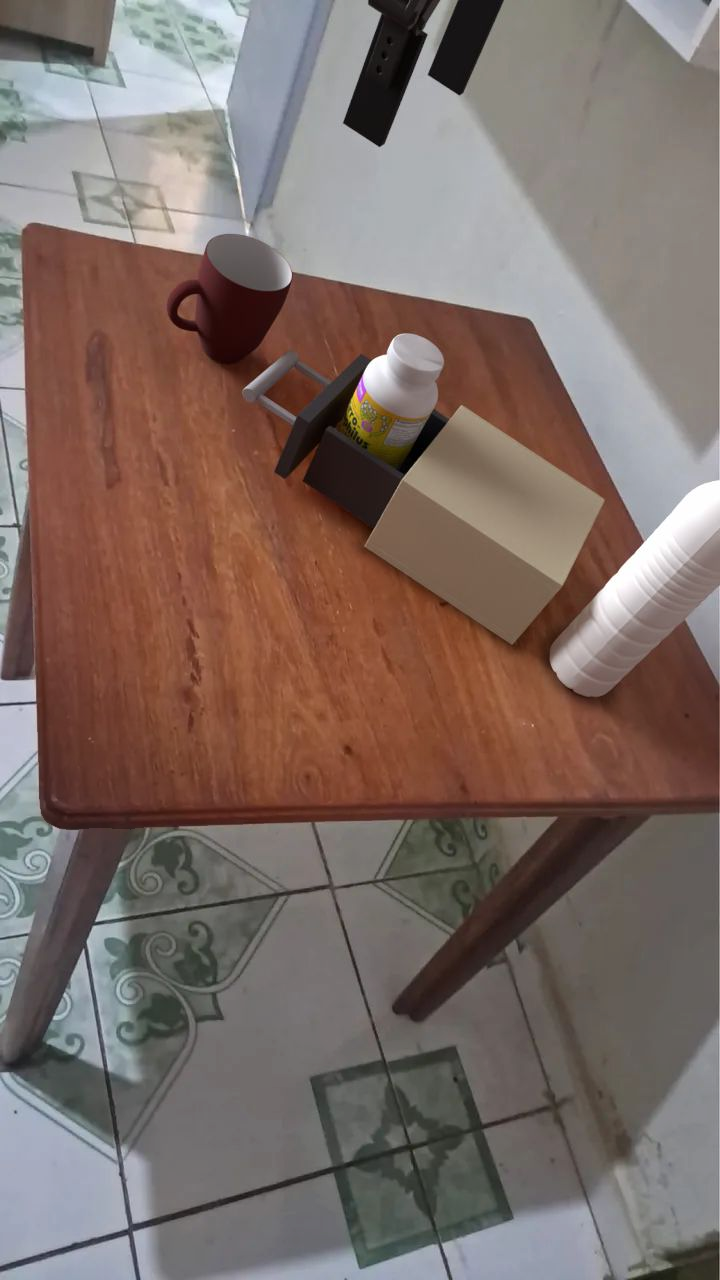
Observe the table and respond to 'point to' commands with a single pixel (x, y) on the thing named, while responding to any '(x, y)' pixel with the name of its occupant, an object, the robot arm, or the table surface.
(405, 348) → the supplement bottle
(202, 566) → the table surface
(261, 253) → the mug
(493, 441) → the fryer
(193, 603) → the table surface
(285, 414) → the dark grey drawer
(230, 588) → the table surface
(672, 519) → the water bottle
